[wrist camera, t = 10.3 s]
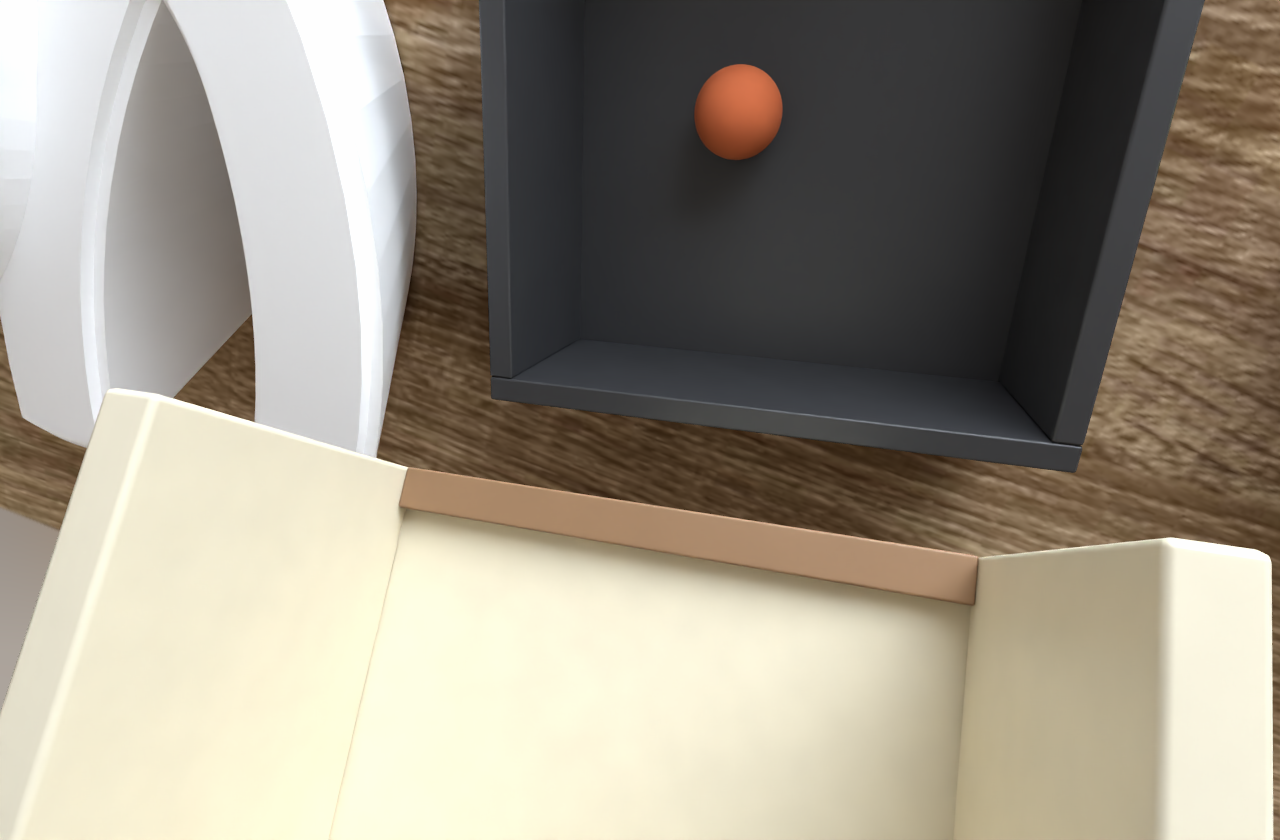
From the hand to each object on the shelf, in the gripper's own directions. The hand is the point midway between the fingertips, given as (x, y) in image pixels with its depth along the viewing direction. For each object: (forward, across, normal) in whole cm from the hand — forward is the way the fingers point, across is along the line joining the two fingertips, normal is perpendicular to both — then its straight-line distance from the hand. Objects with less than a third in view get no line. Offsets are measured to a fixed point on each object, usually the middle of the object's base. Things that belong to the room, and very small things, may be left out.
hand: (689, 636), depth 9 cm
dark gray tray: (+15, 0, -4) cm, 15 cm away
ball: (+13, +2, -4) cm, 14 cm away
